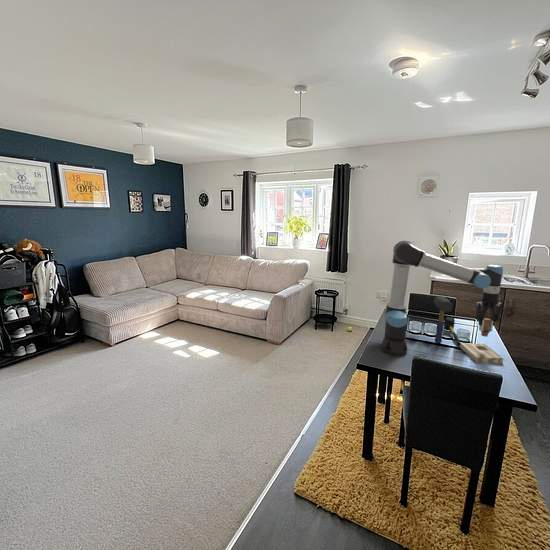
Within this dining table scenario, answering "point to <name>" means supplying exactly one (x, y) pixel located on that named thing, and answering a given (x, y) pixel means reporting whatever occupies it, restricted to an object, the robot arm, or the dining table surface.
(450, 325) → the mallet
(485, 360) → the board
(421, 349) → the dining table surface
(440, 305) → the rubber mallet
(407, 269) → the robot arm
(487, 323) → the peg
